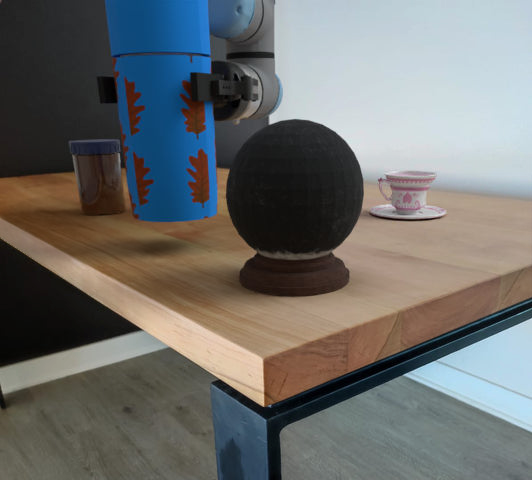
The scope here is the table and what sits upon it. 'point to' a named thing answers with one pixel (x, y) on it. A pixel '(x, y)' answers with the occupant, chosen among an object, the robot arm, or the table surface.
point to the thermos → (164, 107)
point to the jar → (99, 183)
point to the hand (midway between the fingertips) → (146, 88)
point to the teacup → (408, 196)
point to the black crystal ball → (294, 207)
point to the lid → (94, 146)
